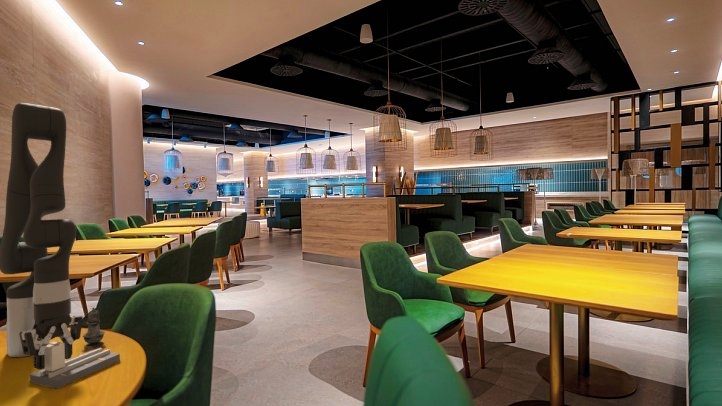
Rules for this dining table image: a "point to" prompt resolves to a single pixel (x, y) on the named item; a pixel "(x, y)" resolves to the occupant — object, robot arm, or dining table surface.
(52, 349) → the fader tab
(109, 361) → the grey ridged rail base
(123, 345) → the dining table surface
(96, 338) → the dark grey statuette
